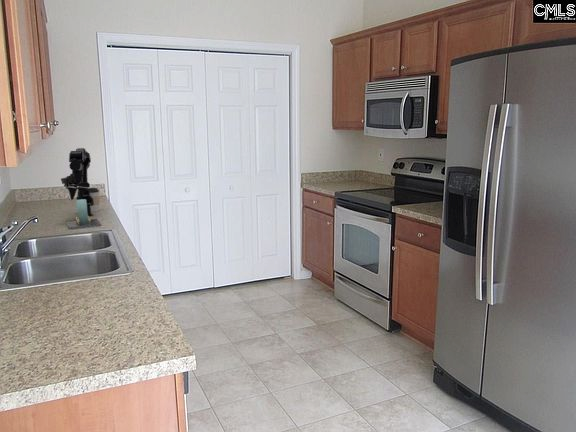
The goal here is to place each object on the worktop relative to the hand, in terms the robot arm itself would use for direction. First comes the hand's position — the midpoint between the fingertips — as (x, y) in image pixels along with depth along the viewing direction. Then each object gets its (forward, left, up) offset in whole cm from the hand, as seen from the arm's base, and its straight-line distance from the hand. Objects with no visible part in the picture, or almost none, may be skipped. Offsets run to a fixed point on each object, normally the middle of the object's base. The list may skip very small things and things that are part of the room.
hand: (75, 199), depth 268 cm
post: (+12, +2, -12) cm, 17 cm away
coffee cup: (-31, +13, -13) cm, 36 cm away
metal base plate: (+12, +2, -13) cm, 18 cm away
